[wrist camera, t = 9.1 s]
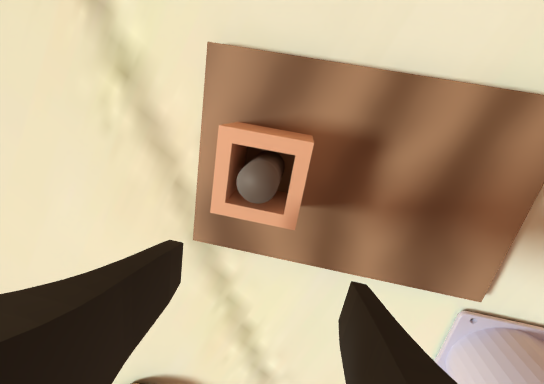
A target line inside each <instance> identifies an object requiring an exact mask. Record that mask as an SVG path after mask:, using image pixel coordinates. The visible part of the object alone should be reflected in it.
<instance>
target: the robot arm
mask: <svg viewBox="0 0 544 384" xmlns="http://www.w3.org/2000/svg"><path fill="white" fill-rule="evenodd" d="M182 255H183V243H182V242H177V241H173V240H168V241H165V242H163V243H160V244H158V245H155V246H153V247H151V248H148V249H146V250H144V251H141V252H139V253H136V254H134V255H132V256H129V257H127V258H125V259H122V260H119V261H117V262H114V263H111V264H109V265H106V266H103V267H101V268H98V269H95V270H92V271H90V272H86V273H83V274H80V275H77V276H74V277H70V278H67V279H64V280H60V281H56V282H52V283H48V284H44V285H40V286H36V287H32V288H28V289H24V290H19V291H14V292H9V293H4V294H0V384H112V382H113V381H114V379H115V378H116V376H117V374H118V373H119V371H120V370H121V368H122V366H123V365H124V363H125V362H126V360H127V359H128V358H129V356H130V355H131V353H132V352H133V350H134V349H135V348H136V346H137V345H138V344H139V342H140V341H141V340H142V339H143V337H144V336H145V335H146V333H147V332H148V331H149V329H150V328H151V327H152V325H153V324H154V323H155V321H156V320H157V319H158V317H159V316H160V315H161V313H162V312H163V310H164V309H165V308H166V306H167V305H168V304H169V302H170V300H171V299H172V297H173V295H174V293H175V292H176V290H177V288H178V286H179V284H180V282H181V269H182ZM472 318H473V319H472ZM470 319H471V320H470ZM339 341H340V350H341V357H342V363H343V369H344V375H345V380H346V384H544V328H543V327H538V326H534V325H529V324H524V323H520V322H515V321H511V320H506V319H502V318H497V317H493V316H488V315H483V314H479V313H474V312H470V311H461V312H459V313H458V315H457V317H456V319H455V321H454V323H453V325H452V327H451V329H450V331H449V333H448V335H447V337H446V339H445V341H444V343H443V345H442V347H441V349H440V351H439V353H438V355H437V357H436V359H435V361H433V360H432V359H431V358H430V357H429V356H428V355H427V354H426V353H425V352H424V350H423V349H422V348H421V347H420V346H419V345H418V344H417V343H416V342H415V341H414V340H413V339H412V338H411V337H410V336H409V334H408V333H407V332H406V331H405V330H404V329H403V328H402V326H401V325H400V324H399V323H398V322H397V321H396V320H395V318H394V317H393V316H392V315H391V314H390V312H389V311H388V310H387V309H386V308H385V306H384V305H383V304H382V303H381V301H380V300H379V299H378V298H377V297H376V295H375V294H374V293H373V292H372V290H371V289H370V288H369V287H368V286H367V285H366V284H361V283H357V282H353V281H351V284H350V287H349V290H348V293H347V296H346V299H345V302H344V305H343V308H342V311H341V314H340V318H339Z"/></svg>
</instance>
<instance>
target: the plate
mask: <svg viewBox="0 0 544 384" xmlns="http://www.w3.org/2000/svg"><path fill="white" fill-rule="evenodd" d="M234 122H242V123H247V124H252V125H258V126H263V127H269V128H274V129H280V130H285V131H291V132H296V133H301V134H307V135H312V136H313V140H314V146H313V150H312V155H311V159H310V164H309V169H308V173H307V178H306V182H305V187H304V191H303V196H302V201H301V205H300V210H299V214H298V219H297V223H296V228H295V230H290V229H285V228H281V227H276V226H271V225H266V224H262V223H257V222H252V221H247V220H243V219H238V218H233V217H228V216H224V215H219V214H214V213H210V209H211V199H212V189H213V179H214V169H215V158H216V148H217V138H218V128H219V125H222V124H228V123H234ZM294 160H295V155H291V154H286V153H280V152H275V151H270V150H265V149H259V148H254V147H249V146H247V149H246V156H245V163H244V167H243V168H242V169H241V171H240V172H239V174H238V176H237V182H236V183H237V188H238V191H239V193H240V194H241V196H242V197H243V198H244V199H246V200H247V201H249V202H252V203H257V204H260V203H265V202H267V201H269V200H270V199H272V198H273V196H274V195H275V193H276V191H280V192H285V193H288V190H289V185H290V180H291V175H292V170H293V165H294ZM543 184H544V95H540V94H533V93H527V92H521V91H514V90H508V89H502V88H495V87H489V86H483V85H477V84H470V83H464V82H458V81H451V80H445V79H439V78H433V77H426V76H420V75H414V74H407V73H401V72H395V71H389V70H382V69H376V68H370V67H363V66H357V65H351V64H345V63H338V62H332V61H326V60H319V59H313V58H307V57H301V56H294V55H288V54H282V53H275V52H269V51H263V50H256V49H250V48H244V47H238V46H231V45H225V44H219V43H212V42H208V43H207V57H206V70H205V84H204V97H203V111H202V124H201V138H200V152H199V165H198V179H197V192H196V206H195V219H194V233H193V240H195V241H200V242H205V243H209V244H214V245H218V246H223V247H228V248H232V249H237V250H242V251H246V252H251V253H255V254H260V255H265V256H269V257H274V258H279V259H283V260H288V261H292V262H297V263H302V264H306V265H311V266H316V267H320V268H325V269H329V270H334V271H339V272H343V273H348V274H353V275H357V276H362V277H367V278H371V279H376V280H380V281H385V282H390V283H394V284H399V285H404V286H408V287H413V288H417V289H422V290H427V291H431V292H436V293H441V294H445V295H450V296H454V297H459V298H464V299H468V300H473V301H478V302H481V301H482V300H483V298H484V296H485V294H486V292H487V290H488V288H489V286H490V284H491V282H492V281H493V279H494V277H495V275H496V273H497V271H498V269H499V267H500V265H501V264H502V262H503V260H504V258H505V256H506V254H507V252H508V250H509V248H510V246H511V245H512V243H513V241H514V239H515V237H516V235H517V233H518V231H519V229H520V227H521V226H522V224H523V222H524V220H525V218H526V216H527V214H528V212H529V210H530V208H531V207H532V205H533V203H534V201H535V199H536V197H537V195H538V193H539V191H540V189H541V188H542V186H543Z"/></svg>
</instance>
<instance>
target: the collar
mask: <svg viewBox="0 0 544 384" xmlns="http://www.w3.org/2000/svg"><path fill="white" fill-rule="evenodd" d="M247 146H249V147H254V148H259V149H265V150H270V151H275V152H280V153H286V154H291V155H295V160H294V165H293V170H292V175H291V180H290V185H289V190H288V193H285V192H280V191H276V193H275V195H274V196H273V198H272V199H270V200H269V201H267V202H265V203H260V204H257V203H252V202H249V201H247V200H246V199H244V198H243V197H242V196H241V194H240V193H239V191H238V188H237V183H236V182H237V176H238V174H239V172H240V171H241V169H242V168H243V167H244V163H245V156H246V149H247ZM313 146H314V140H313V136H312V135H307V134H301V133H296V132H291V131H285V130H280V129H274V128H269V127H263V126H258V125H252V124H247V123H242V122H234V123H228V124H222V125H219V128H218V138H217V148H216V158H215V169H214V179H213V189H212V199H211V209H210V213H214V214H219V215H224V216H228V217H233V218H238V219H243V220H247V221H252V222H257V223H262V224H266V225H271V226H276V227H281V228H285V229H290V230H295V228H296V223H297V219H298V214H299V210H300V205H301V201H302V196H303V191H304V187H305V182H306V178H307V173H308V169H309V164H310V159H311V155H312V150H313Z"/></svg>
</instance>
